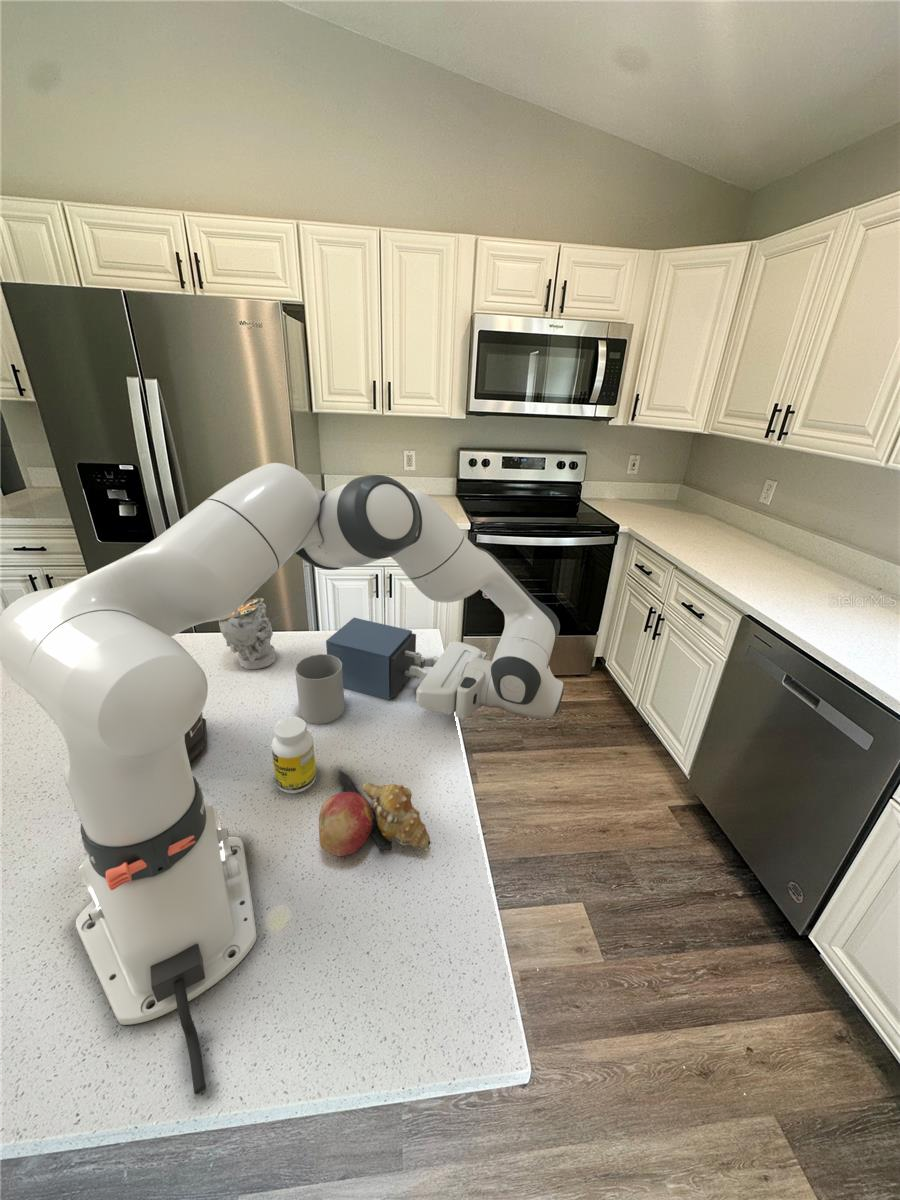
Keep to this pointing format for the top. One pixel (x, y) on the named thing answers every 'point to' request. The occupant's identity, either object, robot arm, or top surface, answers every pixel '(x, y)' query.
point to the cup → (320, 688)
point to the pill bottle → (293, 755)
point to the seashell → (397, 814)
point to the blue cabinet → (367, 655)
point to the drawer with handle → (403, 664)
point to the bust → (250, 634)
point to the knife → (375, 831)
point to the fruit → (345, 823)
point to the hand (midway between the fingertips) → (413, 664)
